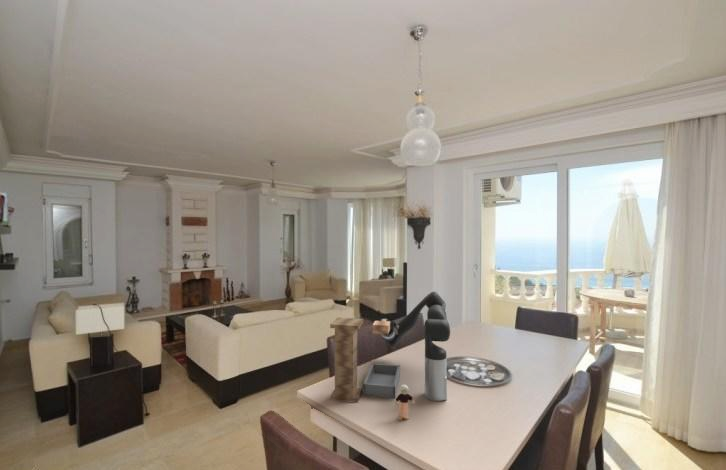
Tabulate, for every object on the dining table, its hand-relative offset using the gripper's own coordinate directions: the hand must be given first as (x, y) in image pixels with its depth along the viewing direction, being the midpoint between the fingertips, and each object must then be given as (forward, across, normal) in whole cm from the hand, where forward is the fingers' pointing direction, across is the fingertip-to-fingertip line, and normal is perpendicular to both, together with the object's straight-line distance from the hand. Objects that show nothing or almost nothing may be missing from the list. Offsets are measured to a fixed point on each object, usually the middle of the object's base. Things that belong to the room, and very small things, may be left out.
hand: (383, 321), depth 160 cm
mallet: (+1, 0, -4) cm, 4 cm away
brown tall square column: (0, +14, -33) cm, 36 cm away
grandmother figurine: (+12, -12, -40) cm, 43 cm away
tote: (-11, 0, -27) cm, 29 cm away
